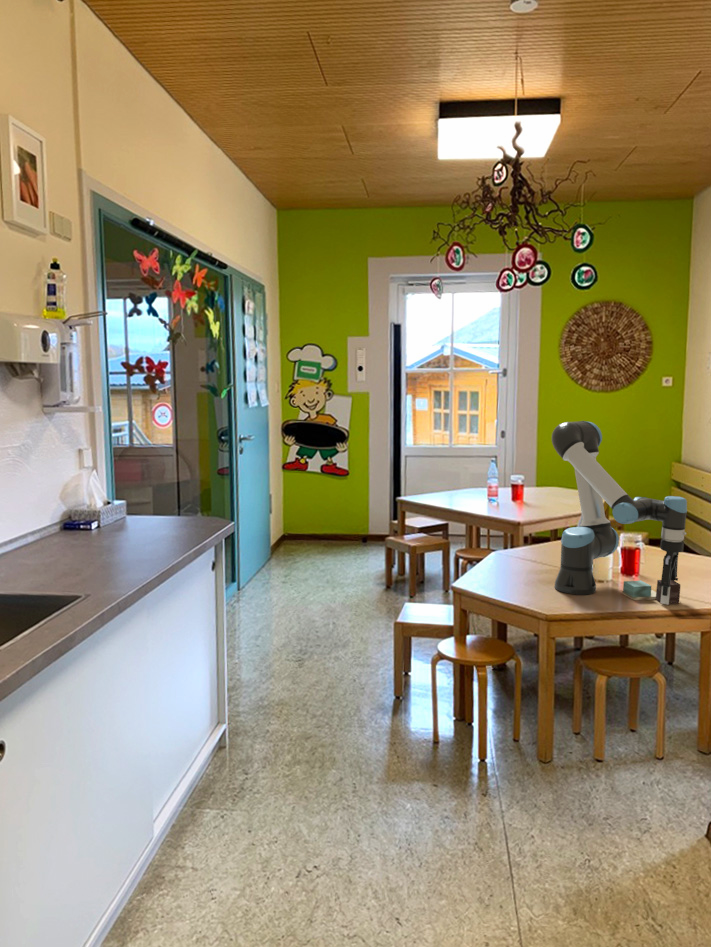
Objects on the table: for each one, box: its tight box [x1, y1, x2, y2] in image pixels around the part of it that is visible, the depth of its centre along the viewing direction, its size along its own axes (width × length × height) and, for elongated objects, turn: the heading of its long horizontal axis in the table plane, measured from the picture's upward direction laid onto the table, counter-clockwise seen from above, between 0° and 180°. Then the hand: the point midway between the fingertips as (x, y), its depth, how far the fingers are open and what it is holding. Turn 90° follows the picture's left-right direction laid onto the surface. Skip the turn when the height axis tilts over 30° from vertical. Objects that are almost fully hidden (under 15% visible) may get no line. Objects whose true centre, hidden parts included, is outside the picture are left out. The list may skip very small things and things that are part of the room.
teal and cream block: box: [621, 580, 657, 601], centre depth 265 cm, size 12×8×5 cm, turn 100°
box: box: [655, 579, 681, 605], centre depth 258 cm, size 6×6×7 cm
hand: (667, 600), depth 258 cm, fingers closed on box, 8 cm apart
